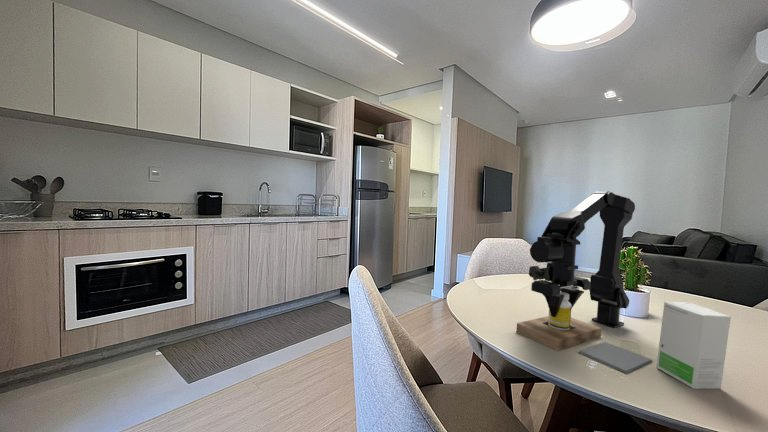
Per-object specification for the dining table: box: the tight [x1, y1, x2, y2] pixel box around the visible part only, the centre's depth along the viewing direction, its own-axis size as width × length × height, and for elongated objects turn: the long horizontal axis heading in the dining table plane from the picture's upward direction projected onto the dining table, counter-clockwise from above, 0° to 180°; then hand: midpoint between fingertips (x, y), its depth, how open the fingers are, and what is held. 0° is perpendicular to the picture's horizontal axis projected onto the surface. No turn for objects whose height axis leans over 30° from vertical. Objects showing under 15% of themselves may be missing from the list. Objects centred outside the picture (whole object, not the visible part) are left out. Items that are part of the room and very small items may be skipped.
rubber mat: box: [578, 341, 653, 374], centre depth 74 cm, size 12×10×1 cm
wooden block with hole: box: [516, 315, 602, 351], centre depth 86 cm, size 20×12×2 cm, turn 118°
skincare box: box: [656, 301, 732, 390], centre depth 65 cm, size 8×7×16 cm
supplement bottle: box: [548, 291, 572, 331], centre depth 86 cm, size 5×5×10 cm
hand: (559, 315), depth 86 cm, fingers closed on supplement bottle, 5 cm apart
